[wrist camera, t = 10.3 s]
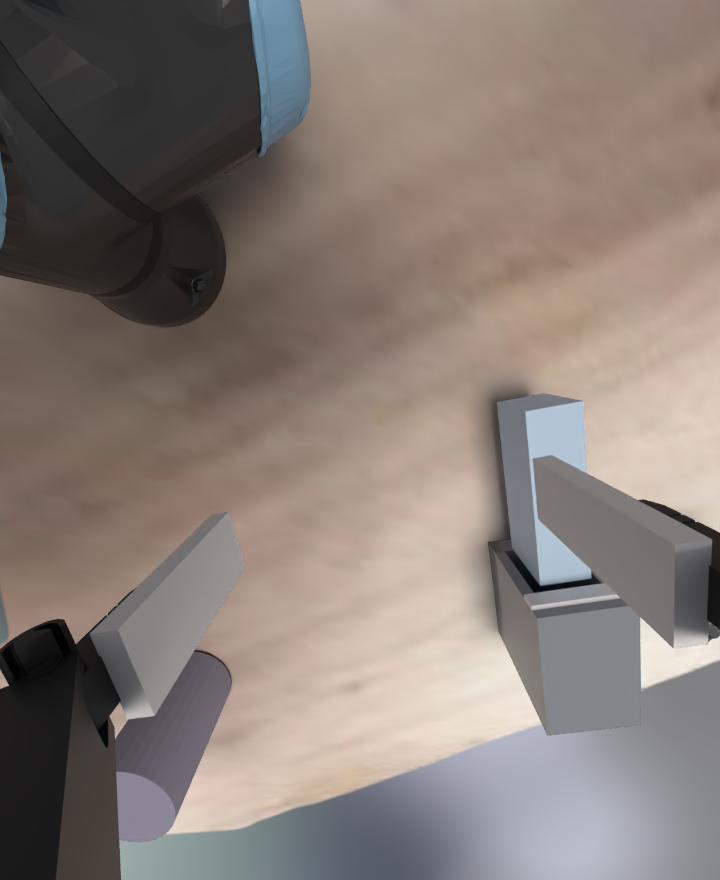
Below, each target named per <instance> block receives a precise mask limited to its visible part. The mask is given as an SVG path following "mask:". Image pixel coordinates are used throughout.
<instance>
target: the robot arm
mask: <svg viewBox="0 0 720 880" xmlns="http://www.w3.org/2000/svg"><path fill="white" fill-rule="evenodd" d="M310 88H311V72H310V61H309V52H308V45H307V38H306V31H305V25H304V19H303V14H302V9H301V3H300V0H0V275H2V276H7V277H12V278H16V279H21V280H25V281H30V282H35V283H39V284H44V285H48V286H53V287H58V288H62V289H67V290H71V291H76V292H81V293H85V294H89V295H91V296H93V297H94V298H96V299H97V300H99V301H101V302H102V303H103V304H104V305H105V306H107V307H108V308H110V309H111V310H112V311H114V312H115V313H117V314H119V315H120V316H122V317H124V318H126V319H129V320H131V321H134V322H137V323H141V324H146V325H152V326H158V327H174V326H180V325H183V324H186V323H189V322H191V321H193V320H195V319H196V318H198V317H199V316H201V315H202V314H203V313H204V312H205V311H207V310H208V308H209V307H210V306H211V305H212V304H213V302H214V301H215V299H216V297H217V295H218V294H219V291H220V289H221V286H222V283H223V280H224V275H225V267H226V255H225V247H224V242H223V238H222V234H221V231H220V228H219V226H218V224H217V222H216V220H215V218H214V216H213V214H212V213H211V211H210V210H209V208H208V207H207V206H206V204H205V203H204V202H203V201H202V200H201V199H200V198H199V197H198V196H197V195H196V194H197V193H199V192H201V191H202V190H204V189H205V188H207V187H208V186H210V185H212V184H213V183H215V182H216V181H218V180H220V179H221V178H223V177H224V176H226V175H227V174H229V173H231V172H232V171H234V170H235V169H237V168H238V167H240V166H242V165H243V164H245V163H246V162H248V161H250V160H251V159H253V158H254V157H257V158H260V157H262V156H264V154H265V153H266V152H267V149H268V147H269V146H271V145H272V144H273V143H275V142H276V141H277V140H279V139H280V138H281V137H283V136H284V135H286V134H287V133H288V132H290V131H291V130H292V129H294V128H295V127H296V126H298V125H299V124H300V122H301V121H302V120H303V118H304V116H305V114H306V112H307V108H308V104H309V100H310ZM533 468H534V479H535V491H536V502H537V514H538V520H539V521H540V522H541V523H543V524H544V525H545V526H546V527H547V528H548V529H549V530H550V531H551V532H552V533H553V534H554V535H555V536H556V537H557V538H558V539H559V540H560V541H561V542H562V543H564V544H565V545H566V546H567V547H568V548H569V549H570V550H571V551H572V552H573V553H574V554H575V555H576V556H577V557H578V558H579V559H580V560H581V561H582V562H583V563H584V564H586V565H587V566H588V567H589V568H590V569H591V570H592V571H593V572H594V573H595V574H596V575H597V576H598V577H599V578H600V579H601V580H602V581H603V582H604V583H605V584H606V585H608V586H609V587H610V588H611V589H612V590H613V591H614V592H615V593H616V594H617V595H618V596H619V597H620V598H621V599H622V600H623V601H624V602H625V603H626V604H627V605H628V606H630V607H631V608H632V609H633V610H634V611H635V612H636V613H637V614H638V615H639V616H640V617H641V618H642V619H643V620H644V621H645V622H646V623H647V624H648V625H649V626H651V627H652V628H653V629H654V630H655V631H656V632H657V633H658V634H659V635H660V636H661V637H662V638H663V639H664V640H665V641H666V642H667V643H668V644H669V645H670V646H671V647H673V648H682V647H690V646H697V645H705V644H708V631H709V622H710V623H712V624H713V625H714V626H715V627H717V628H718V629H719V630H720V533H719V532H717V531H715V530H713V529H711V528H709V527H707V526H705V525H703V524H701V523H699V522H695V520H693V519H691V518H689V517H687V516H685V515H681V513H679V512H677V511H675V510H673V509H671V508H669V507H667V506H665V505H661V504H658V503H654V502H651V501H647V500H644V499H643V500H636V499H634V498H632V497H631V496H629V495H627V494H625V493H623V492H621V491H619V490H617V489H615V488H613V487H612V486H610V485H608V484H606V483H604V482H602V481H600V480H598V479H596V478H594V477H593V476H591V475H589V474H587V473H585V472H583V471H581V470H579V469H577V468H576V467H574V466H572V465H570V464H568V463H566V462H564V461H562V460H560V459H558V458H557V457H555V456H553V455H549V456H543V457H538V458H533ZM244 568H245V564H244V561H243V557H242V554H241V551H240V548H239V545H238V541H237V538H236V535H235V532H234V529H233V525H232V522H231V519H230V516H229V512H225V513H219V514H214V515H211V516H210V517H209V518H208V519H207V520H206V521H205V522H204V523H203V524H202V525H201V526H200V527H199V528H198V529H197V530H196V531H195V532H194V533H193V534H192V535H191V536H190V537H189V538H187V539H186V540H185V541H184V542H183V543H182V544H181V545H180V546H179V547H178V548H177V549H176V550H175V551H174V552H173V553H172V554H171V555H170V556H169V557H168V558H167V559H166V560H165V561H164V562H163V563H162V564H161V565H160V566H159V567H158V568H157V569H156V570H155V571H154V572H153V573H152V574H151V575H149V576H148V577H147V578H146V579H145V580H144V581H143V582H142V583H141V584H140V585H139V586H138V587H137V588H135V589H134V590H133V591H131V592H130V593H129V594H128V595H127V596H126V597H124V598H123V599H122V600H121V601H120V602H119V603H118V606H115V607H114V608H113V609H112V610H111V611H110V612H109V613H108V615H107V616H105V617H104V618H103V619H102V620H101V621H100V622H99V623H98V624H96V625H95V626H94V627H93V628H92V629H91V630H90V631H89V632H88V633H87V634H86V635H85V636H84V637H83V638H82V639H81V640H80V641H79V642H78V643H77V644H75V642H74V640H73V638H72V635H71V633H70V631H69V629H68V627H67V625H66V623H65V620H63V619H56V620H51V621H47V622H45V623H42V624H40V625H37V626H35V627H33V628H31V629H29V630H27V631H25V632H23V633H22V634H20V635H19V636H17V637H15V638H14V639H12V640H11V641H9V642H8V643H7V644H6V645H5V646H4V647H2V648H1V649H0V669H1V671H2V673H3V675H4V677H5V679H6V681H7V682H8V684H9V686H7V687H4V688H2V689H0V880H121V871H120V848H119V825H118V802H117V778H116V755H115V732H114V725H113V723H112V721H111V719H110V717H109V716H110V715H111V713H112V712H113V710H114V709H115V708H116V706H117V705H118V704H119V702H120V703H121V705H122V707H123V710H124V712H125V714H126V716H127V719H135V718H142V717H150V716H155V714H156V713H157V711H158V710H159V708H160V706H161V705H162V703H163V701H164V700H165V698H166V696H167V695H168V693H169V691H170V690H171V688H172V687H173V685H174V683H175V682H176V680H177V678H178V677H179V675H180V673H181V672H182V670H183V668H184V667H185V665H186V663H187V662H188V660H189V659H190V657H191V655H192V654H193V652H194V650H195V649H196V647H197V645H198V644H199V642H200V640H201V639H202V637H203V635H204V634H205V632H206V631H207V629H208V627H209V626H210V624H211V622H212V621H213V619H214V617H215V616H216V614H217V612H218V611H219V609H220V608H221V606H222V604H223V603H224V601H225V599H226V598H227V596H228V594H229V593H230V591H231V589H232V588H233V586H234V584H235V583H236V581H237V580H238V578H239V576H240V575H241V573H242V571H243V570H244Z"/></svg>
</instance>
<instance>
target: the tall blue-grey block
mask: <svg viewBox="0 0 720 880" xmlns="http://www.w3.org/2000/svg"><path fill="white" fill-rule="evenodd" d="M497 409H498V419H499V428H500V438H501V447H502V457H503V467H504V476H505V486H506V495H507V505H508V515H509V524H510V534H511V543H512V549H513V550H514V552H515V553H516V554H517V556H518V557H519V558H520V560H521V561H522V562H523V564H524V565H525V566H526V568H527V569H528V570H529V572H530V573H531V574H532V576H533V577H534V578H535V580H536V581H537V582H538V584H539V585H540V586H543V585H550V584H557V583H564V582H571V581H578V580H585V579H592V578H591V569H590V568H589V567H588V566H587V565H586V564H584V563H583V562H582V561H581V560H580V559H579V558H578V557H577V556H576V555H575V554H574V553H573V552H572V551H571V550H570V549H569V548H568V547H567V546H566V545H565V544H564V543H562V542H561V541H560V540H559V539H558V538H557V537H556V536H555V535H554V534H553V533H552V532H551V531H550V530H549V529H548V528H547V527H546V526H545V525H544V524H543V523H541V522H540V521H539V520H538V514H537V502H536V491H535V479H534V468H533V458H538V457H543V456H549V455H553V456H555V457H557V458H558V459H560V460H562V461H564V462H566V463H568V464H570V465H572V466H574V467H576V468H577V469H579V470H581V471H583V472H585V473H587V471H586V449H585V428H584V407H583V401H581V400H575V399H570V398H565V397H560V396H554V395H549V394H544V393H543V394H538V395H532V396H527V397H522V398H516V399H511V400H505V401H500V402H497Z"/></svg>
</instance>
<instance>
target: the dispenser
mask: <svg viewBox="0 0 720 880" xmlns="http://www.w3.org/2000/svg"><path fill="white" fill-rule="evenodd" d="M488 545H489V553H490V562H491V570H492V578H493V586H494V595H495V603H496V611H497V619H498V628H499V633H500V635H501V638H502V640H503V642H504V644H505V646H506V648H507V650H508V652H509V655H510V657H511V659H512V661H513V663H514V665H515V667H516V669H517V672H518V674H519V676H520V678H521V680H522V682H523V684H524V686H525V689H526V691H527V693H528V695H529V697H530V699H531V701H532V704H533V706H534V708H535V710H536V712H537V714H538V716H539V718H540V721H541V723H542V725H543V727H544V729H545V731H546V733H547V735H557V734H566V733H574V732H584V731H592V730H593V731H594V730H602V729H612V728H620V727H630V726H639V725H641V670H640V616H639V615H638V614H637V613H636V612H635V611H634V610H633V609H632V608H631V607H630V606H628V605H627V604H626V603H625V602H624V601H623V600H622V599H621V598H620V597H619V596H618V595H617V594H616V593H615V592H614V591H613V590H612V589H611V588H610V587H609V586H608V585H606V584H605V583H604V582H603V581H602V580H601V579H600V578H599V577H598V576H597V575H596V574H595V573H594V572H593V571H592V570H591V578H592V579H585V580H578V581H571V582H564V583H557V584H550V585H543V586H540V585H539V584H538V582H537V581H536V580H535V578H534V577H533V576H532V574H531V573H530V572H529V570H528V569H527V568H526V566H525V565H524V564H523V562H522V561H521V560H520V558H519V557H518V556H517V554H516V553H515V552H514V550H513V549H512V543H511V539H507V540H501V541H494V542H488Z"/></svg>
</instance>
